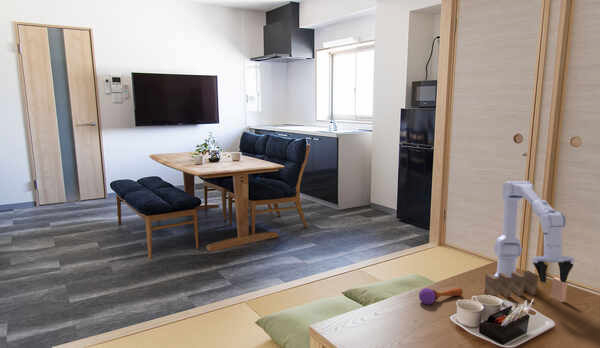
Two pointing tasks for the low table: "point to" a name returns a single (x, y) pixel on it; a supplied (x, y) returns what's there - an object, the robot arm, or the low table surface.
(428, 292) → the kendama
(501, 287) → the walnut domino
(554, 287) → the terracotta domino
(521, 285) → the walnut domino
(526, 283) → the walnut domino
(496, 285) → the walnut domino
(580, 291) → the low table surface
